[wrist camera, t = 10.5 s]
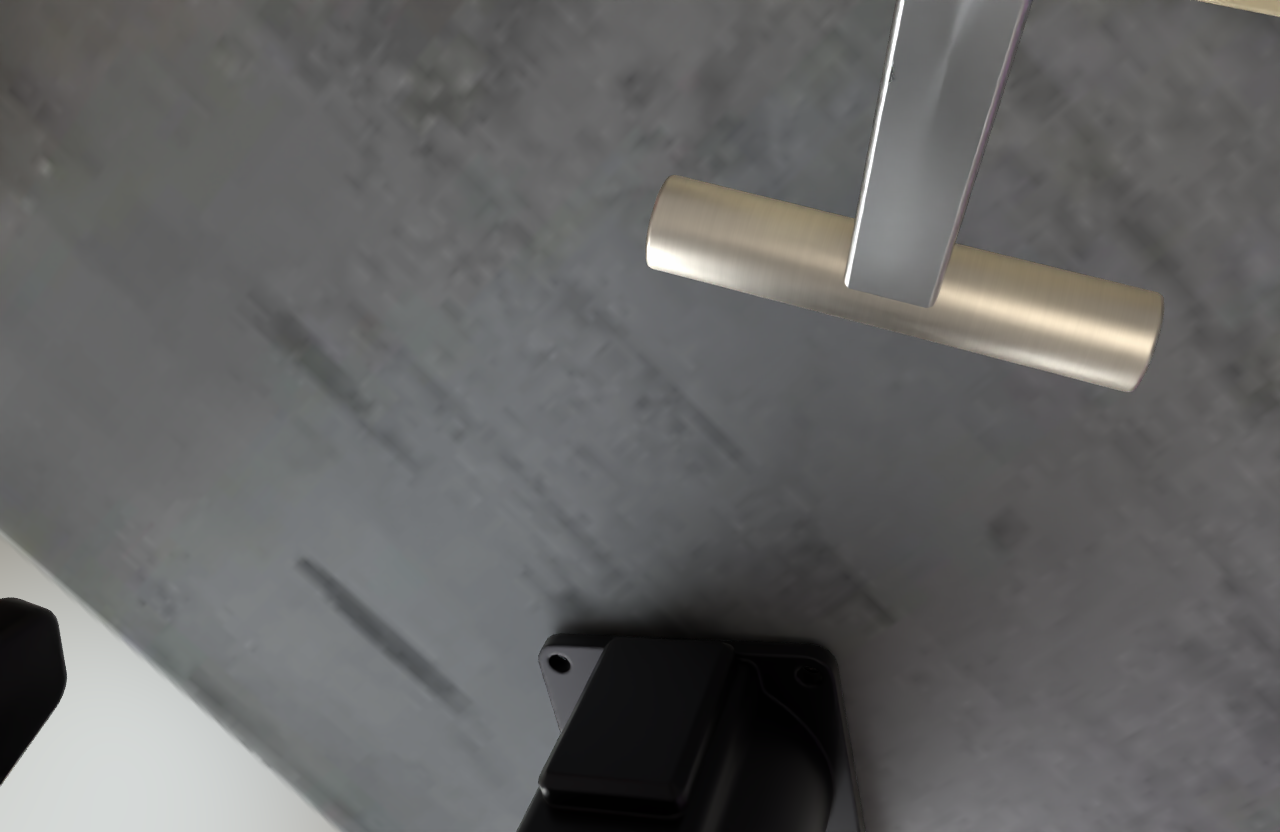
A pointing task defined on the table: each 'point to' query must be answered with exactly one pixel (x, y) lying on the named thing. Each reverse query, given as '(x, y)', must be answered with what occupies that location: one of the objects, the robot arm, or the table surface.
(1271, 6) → the bracket
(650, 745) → the robot arm
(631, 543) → the table surface
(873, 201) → the lever
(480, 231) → the table surface
